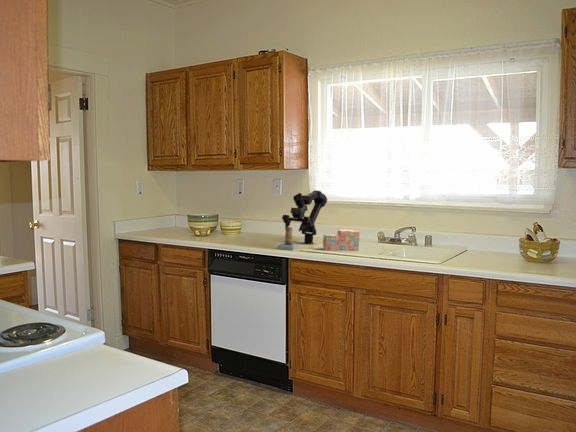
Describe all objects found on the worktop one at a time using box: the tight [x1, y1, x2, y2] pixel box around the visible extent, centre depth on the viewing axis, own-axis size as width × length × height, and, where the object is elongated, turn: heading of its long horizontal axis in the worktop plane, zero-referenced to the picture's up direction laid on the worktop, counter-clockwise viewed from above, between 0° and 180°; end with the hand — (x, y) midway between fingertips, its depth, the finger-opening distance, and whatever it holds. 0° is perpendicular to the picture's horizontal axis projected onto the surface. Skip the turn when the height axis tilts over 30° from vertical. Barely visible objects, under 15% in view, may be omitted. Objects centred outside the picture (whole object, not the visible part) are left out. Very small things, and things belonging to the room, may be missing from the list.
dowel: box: [284, 226, 293, 245], centre depth 317 cm, size 4×4×13 cm
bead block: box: [277, 242, 300, 251], centre depth 317 cm, size 10×10×2 cm
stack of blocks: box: [322, 229, 360, 252], centre depth 322 cm, size 21×6×12 cm, turn 101°
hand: (292, 230), depth 320 cm, fingers open, 9 cm apart
